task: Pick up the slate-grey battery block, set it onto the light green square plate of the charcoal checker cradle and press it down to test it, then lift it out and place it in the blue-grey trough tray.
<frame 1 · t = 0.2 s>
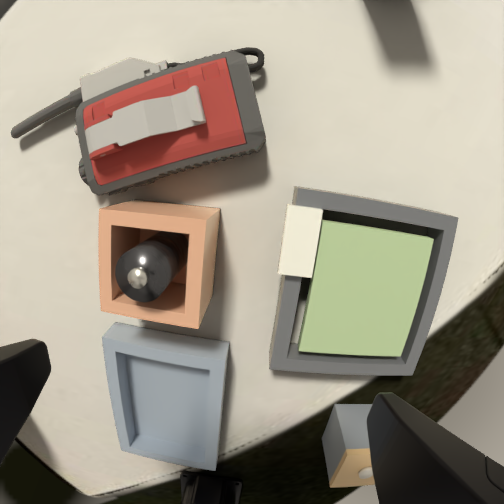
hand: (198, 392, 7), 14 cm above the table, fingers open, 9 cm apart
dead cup: (172, 248, 21), on the table
tray: (170, 397, 24), on the table
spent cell: (170, 250, 21), point 1 cm above the table, touching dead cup
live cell: (351, 422, 25), on the table
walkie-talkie: (129, 127, 20), on the table
light green square plate: (366, 294, 20), point 2 cm above the table, slide at 0.0 cm
checker frame: (359, 285, 21), on the table
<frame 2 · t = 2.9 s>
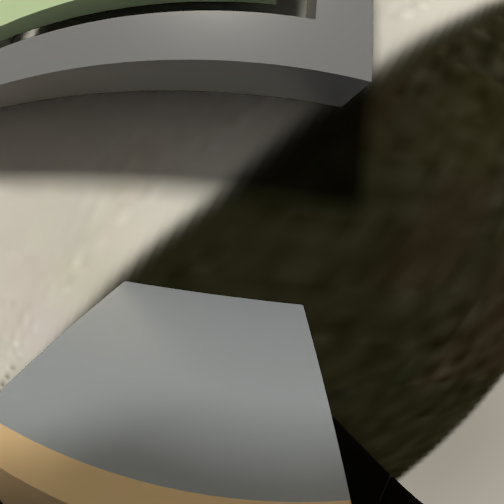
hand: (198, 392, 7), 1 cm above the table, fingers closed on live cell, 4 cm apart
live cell: (205, 369, 8), on the table, touching gripper
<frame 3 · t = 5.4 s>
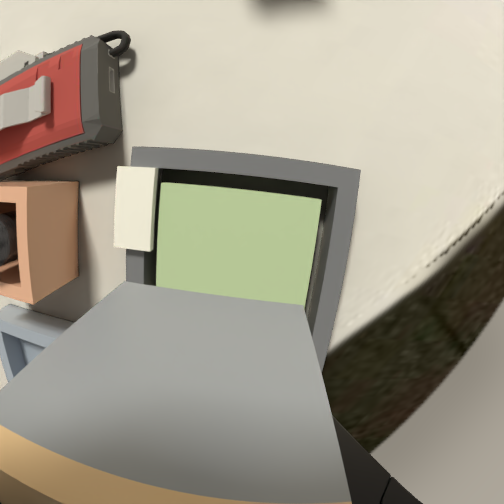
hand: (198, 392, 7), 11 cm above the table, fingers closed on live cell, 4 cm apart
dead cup: (42, 226, 18), on the table
tray: (63, 386, 21), on the table
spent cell: (37, 227, 17), point 1 cm above the table, touching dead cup
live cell: (205, 369, 8), point 10 cm above the table, touching gripper
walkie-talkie: (19, 117, 16), on the table
light green square plate: (231, 276, 16), point 2 cm above the table, slide at 0.0 cm
checker frame: (234, 266, 18), on the table
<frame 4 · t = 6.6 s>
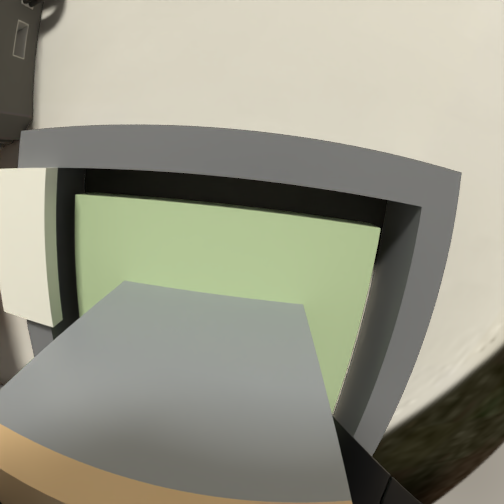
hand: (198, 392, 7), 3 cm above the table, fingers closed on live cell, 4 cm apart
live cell: (205, 369, 8), point 2 cm above the table, touching light green square plate, gripper
light green square plate: (208, 360, 9), point 1 cm above the table, slide at 0.6 cm, touching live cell
checker frame: (214, 340, 10), on the table
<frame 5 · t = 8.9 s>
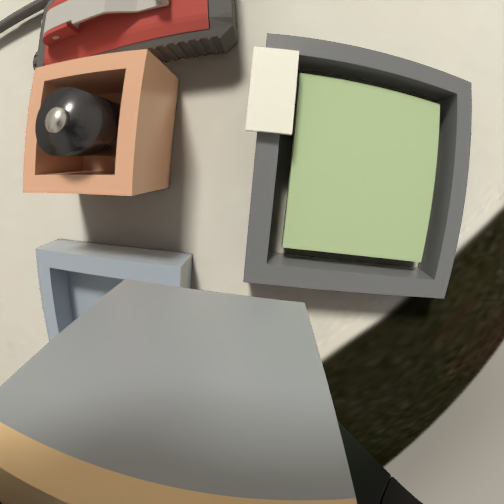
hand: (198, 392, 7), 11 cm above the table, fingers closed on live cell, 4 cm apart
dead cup: (122, 132, 16), on the table
tray: (124, 342, 19), on the table
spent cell: (118, 131, 15), point 1 cm above the table, touching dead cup
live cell: (206, 368, 8), point 10 cm above the table, touching gripper
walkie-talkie: (97, 26, 14), on the table
light green square plate: (366, 169, 15), point 1 cm above the table, slide at 0.7 cm
checker frame: (360, 169, 16), on the table
when the fingers open (3 cm above the table, at t = 11.1 s): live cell drops 1 cm, resting on tray.
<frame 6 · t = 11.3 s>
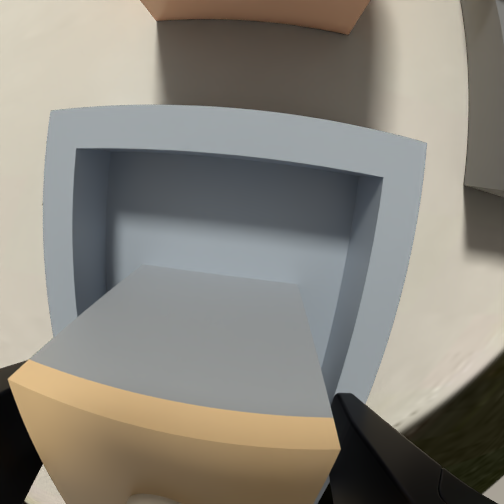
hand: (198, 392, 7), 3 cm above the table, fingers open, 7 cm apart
tray: (215, 335, 10), on the table
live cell: (212, 343, 10), point 1 cm above the table, touching tray
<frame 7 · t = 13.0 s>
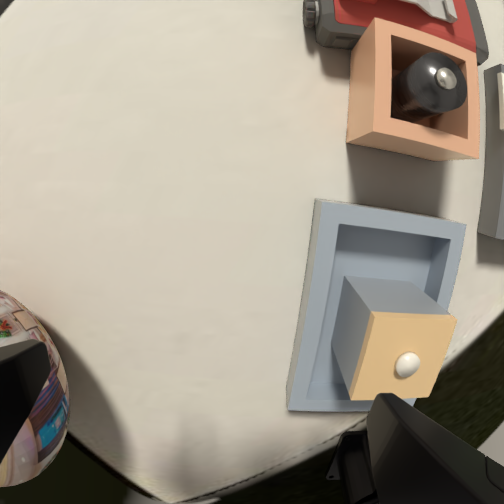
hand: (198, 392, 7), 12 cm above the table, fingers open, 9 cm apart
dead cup: (395, 105, 16), on the table
tray: (368, 309, 19), on the table
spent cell: (398, 103, 16), point 1 cm above the table, touching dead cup
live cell: (371, 312, 19), point 1 cm above the table, touching tray
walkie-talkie: (347, 2, 15), on the table
ornament: (32, 341, 22), on the table
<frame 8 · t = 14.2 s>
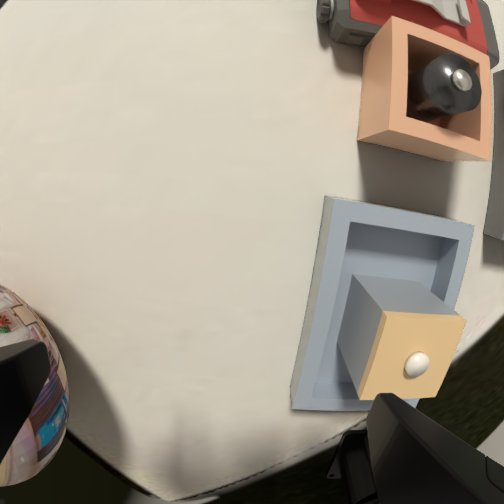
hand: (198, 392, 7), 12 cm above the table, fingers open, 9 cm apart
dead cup: (406, 104, 16), on the table
tray: (374, 308, 19), on the table
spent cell: (410, 102, 16), point 1 cm above the table, touching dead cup
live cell: (377, 311, 19), point 1 cm above the table, touching tray
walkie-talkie: (360, 0, 15), on the table
ornament: (30, 336, 21), on the table
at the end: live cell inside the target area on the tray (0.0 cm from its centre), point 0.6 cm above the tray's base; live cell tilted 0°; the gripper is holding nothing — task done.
